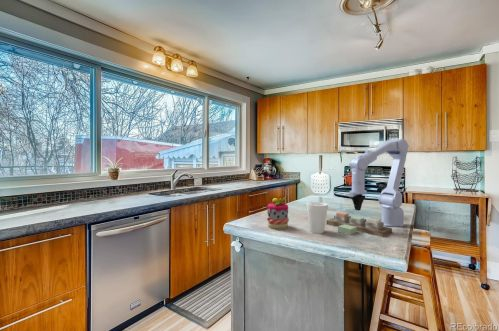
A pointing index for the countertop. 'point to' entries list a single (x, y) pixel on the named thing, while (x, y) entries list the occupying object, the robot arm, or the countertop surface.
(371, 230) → the button console
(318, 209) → the foam cup
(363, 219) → the sage button
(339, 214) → the terracotta button
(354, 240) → the countertop surface
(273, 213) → the cake
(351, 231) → the block
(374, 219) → the cream button
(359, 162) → the robot arm
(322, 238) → the countertop surface
